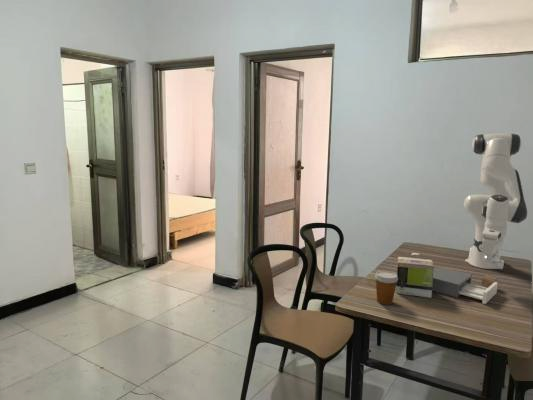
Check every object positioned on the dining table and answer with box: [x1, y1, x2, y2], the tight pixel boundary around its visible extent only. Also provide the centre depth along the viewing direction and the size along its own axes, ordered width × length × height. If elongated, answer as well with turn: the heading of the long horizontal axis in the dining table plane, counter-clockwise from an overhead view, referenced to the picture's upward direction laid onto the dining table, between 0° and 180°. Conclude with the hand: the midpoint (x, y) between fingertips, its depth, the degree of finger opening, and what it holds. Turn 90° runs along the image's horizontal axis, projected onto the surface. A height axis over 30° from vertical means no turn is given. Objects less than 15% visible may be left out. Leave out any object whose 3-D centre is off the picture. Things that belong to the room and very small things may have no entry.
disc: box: [484, 255, 501, 263], centre depth 185 cm, size 6×6×2 cm
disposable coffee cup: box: [374, 270, 398, 305], centre depth 169 cm, size 10×10×12 cm
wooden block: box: [480, 275, 498, 288], centre depth 187 cm, size 5×5×5 cm
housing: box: [432, 266, 473, 299], centre depth 187 cm, size 18×15×6 cm
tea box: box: [395, 256, 435, 299], centre depth 180 cm, size 15×10×15 cm
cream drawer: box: [459, 282, 498, 305], centre depth 179 cm, size 17×15×5 cm
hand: (491, 259), depth 185 cm, fingers closed on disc, 6 cm apart
